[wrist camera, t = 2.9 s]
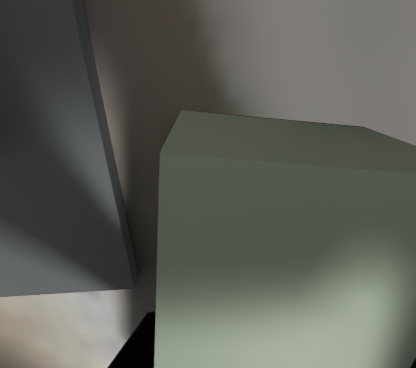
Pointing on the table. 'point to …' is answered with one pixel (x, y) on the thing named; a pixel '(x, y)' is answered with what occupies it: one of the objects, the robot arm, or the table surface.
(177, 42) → the table surface
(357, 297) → the lintel
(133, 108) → the table surface
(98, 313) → the table surface
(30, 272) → the board
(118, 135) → the table surface
